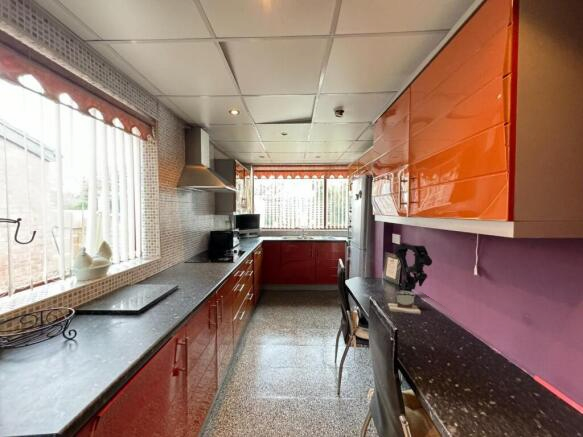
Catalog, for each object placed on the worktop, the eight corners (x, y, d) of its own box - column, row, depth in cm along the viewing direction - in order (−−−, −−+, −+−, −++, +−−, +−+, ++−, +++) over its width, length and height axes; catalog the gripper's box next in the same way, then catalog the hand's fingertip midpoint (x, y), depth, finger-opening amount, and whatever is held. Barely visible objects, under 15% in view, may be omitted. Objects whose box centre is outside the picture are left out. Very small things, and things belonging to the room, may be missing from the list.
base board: (388, 304, 182) (388, 303, 181) (415, 307, 178) (415, 305, 178) (391, 311, 170) (391, 309, 170) (420, 313, 166) (421, 311, 166)
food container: (412, 305, 177) (413, 291, 177) (415, 309, 171) (415, 293, 171) (393, 304, 180) (393, 289, 179) (395, 307, 174) (395, 292, 173)
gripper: (403, 259, 197) (403, 280, 197) (410, 264, 179) (409, 287, 179) (419, 260, 195) (418, 281, 195) (427, 265, 177) (427, 288, 177)
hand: (418, 284), depth 187 cm, fingers open, 9 cm apart
